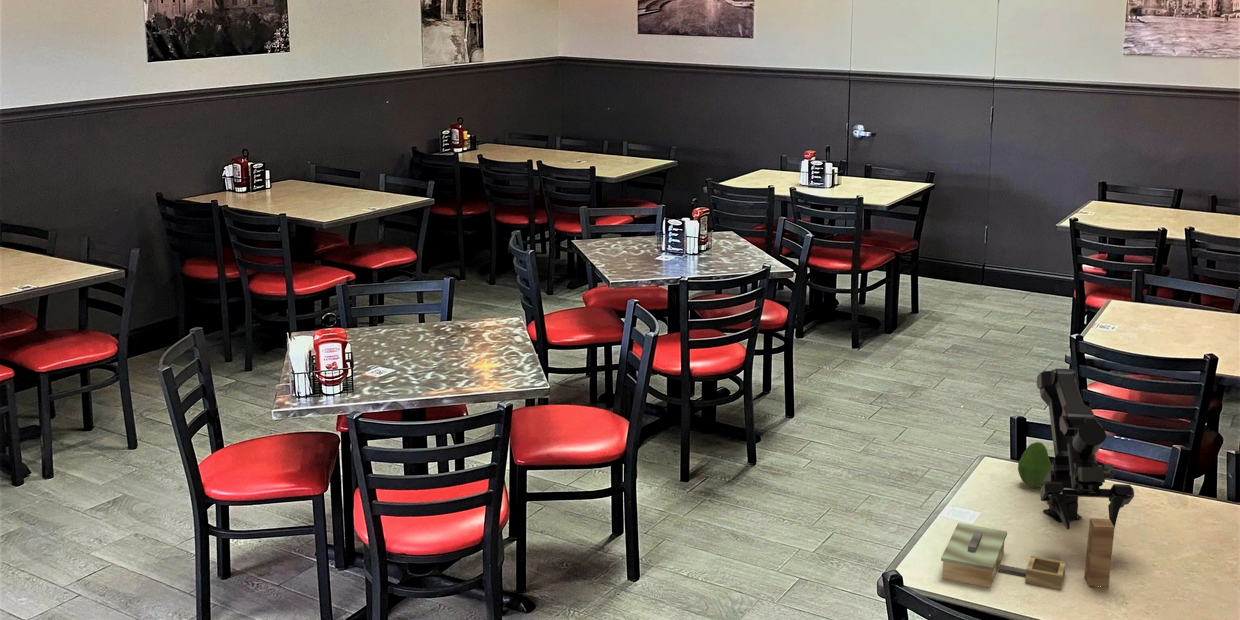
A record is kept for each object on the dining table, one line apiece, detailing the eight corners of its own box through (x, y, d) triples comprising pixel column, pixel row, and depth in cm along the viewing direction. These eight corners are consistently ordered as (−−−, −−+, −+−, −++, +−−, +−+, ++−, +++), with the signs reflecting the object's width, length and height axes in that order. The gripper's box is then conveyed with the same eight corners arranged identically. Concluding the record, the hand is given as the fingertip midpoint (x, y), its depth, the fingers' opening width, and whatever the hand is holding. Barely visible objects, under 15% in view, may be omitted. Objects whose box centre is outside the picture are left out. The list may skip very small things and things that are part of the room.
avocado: (1050, 482, 294) (1053, 439, 291) (1049, 494, 287) (1053, 450, 284) (1017, 478, 297) (1020, 435, 293) (1015, 490, 289) (1019, 446, 286)
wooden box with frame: (956, 542, 262) (958, 517, 261) (1067, 562, 252) (1070, 537, 250) (939, 578, 246) (941, 552, 245) (1057, 602, 236) (1059, 575, 234)
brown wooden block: (1084, 577, 245) (1089, 518, 242) (1103, 578, 245) (1109, 518, 241) (1088, 586, 242) (1094, 526, 238) (1108, 587, 241) (1114, 527, 237)
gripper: (1046, 447, 251) (1053, 515, 243) (1136, 451, 248) (1145, 519, 240) (1037, 466, 260) (1043, 532, 253) (1123, 470, 257) (1131, 536, 250)
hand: (1090, 530), depth 249 cm, fingers open, 9 cm apart
